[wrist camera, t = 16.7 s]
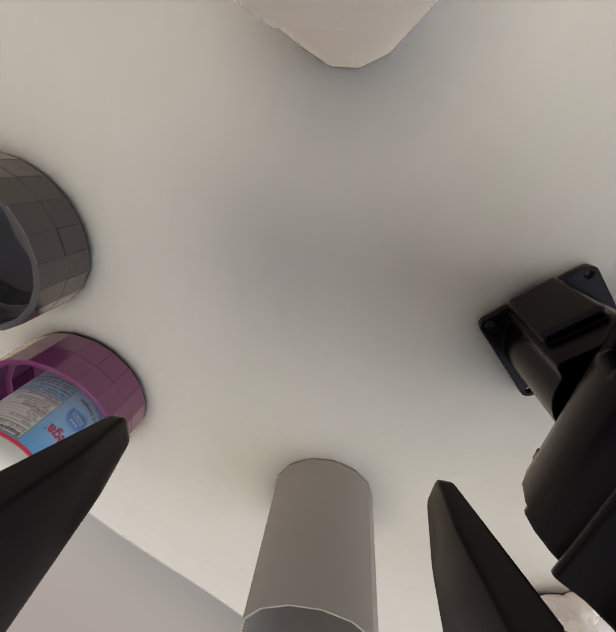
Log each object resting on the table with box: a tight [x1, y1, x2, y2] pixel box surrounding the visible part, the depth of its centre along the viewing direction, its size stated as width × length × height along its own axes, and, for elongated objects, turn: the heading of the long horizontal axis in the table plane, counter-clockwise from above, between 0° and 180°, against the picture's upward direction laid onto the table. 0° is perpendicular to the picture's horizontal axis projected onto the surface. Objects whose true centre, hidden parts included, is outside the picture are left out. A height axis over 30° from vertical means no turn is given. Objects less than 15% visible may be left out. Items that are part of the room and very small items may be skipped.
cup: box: [240, 459, 378, 632], centre depth 24 cm, size 8×8×10 cm
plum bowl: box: [0, 333, 145, 438], centre depth 26 cm, size 10×10×4 cm
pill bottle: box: [0, 370, 104, 471], centre depth 22 cm, size 6×6×11 cm
